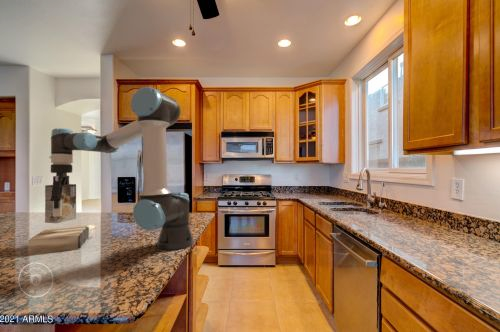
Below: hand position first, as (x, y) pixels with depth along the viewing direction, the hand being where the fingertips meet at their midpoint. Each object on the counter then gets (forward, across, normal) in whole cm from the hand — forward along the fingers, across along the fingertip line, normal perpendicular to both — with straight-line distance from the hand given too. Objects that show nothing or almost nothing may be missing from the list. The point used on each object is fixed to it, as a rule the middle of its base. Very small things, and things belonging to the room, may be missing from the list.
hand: (61, 214), depth 104 cm
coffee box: (+3, 0, 0) cm, 3 cm away
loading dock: (+14, 0, 0) cm, 14 cm away
